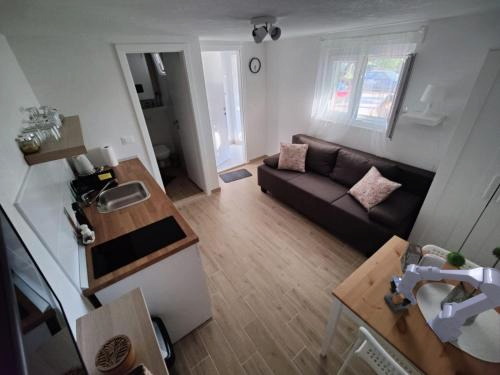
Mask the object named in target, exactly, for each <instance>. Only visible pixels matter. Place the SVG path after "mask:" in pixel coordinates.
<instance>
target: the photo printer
mask: <svg viewBox="0 0 500 375" xmlns="http://www.w3.org/2000/svg"><path fill="white" fill-rule="evenodd" d="M446 261H447V260H446V259H445V258H443V257H441V256H439V255H435V254H431V253H425V254H423V258H422V259H421V261H420V263H419V264H418V266H423V267H428V266H432V267H437V268H439V269H440V270H443V268H444V266H445V265H446Z"/></svg>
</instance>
